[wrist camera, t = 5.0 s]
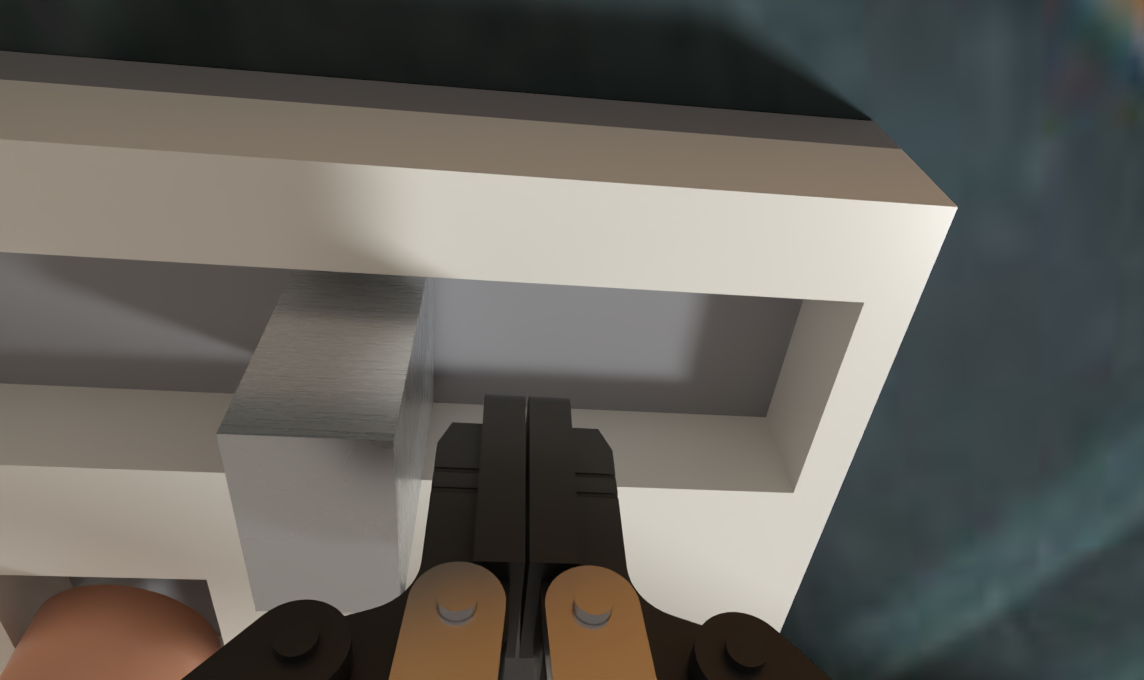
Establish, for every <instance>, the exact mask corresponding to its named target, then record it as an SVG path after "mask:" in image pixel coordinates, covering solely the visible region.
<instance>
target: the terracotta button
mask: <svg viewBox="0 0 1144 680" xmlns="http://www.w3.org/2000/svg"><path fill="white" fill-rule="evenodd" d="M220 648H221V646H220V640H219V638H218V635H217V633H216V632H215V630H214V628H213V627H212V626H211V625H210V623H209V622H208V621H207V620H206V619H205V618H204V617H203V616H201V615H200V614H199V613H198V612H196V611H195V610H193V609H192V608H190V607H189V606H187V605H185V604H183V603H182V602H179V601H177V600H175V599H173V598H171V597H168V596H165V595H163V594H160V593H157V592H153V591H150V590H146V589H141V588H137V587H131V586H123V585H109V584H106V585H88V586H81V587H76V588H72V589H68V590H65V591H62V592H60V593H58V594H56V595H54V596H52V597H51V598H49V599H48V600H46V601H45V602H44V603H43V604H42V605H41V606H40V608H39V609H38V611H37V612H36V614H35V616H34V618H33V619H32V621H31V623H30V624H29V626H28V628H27V630H26V631H25V633H24V635H23V636H22V638H21V640H20V642H19V643H18V645H17V647H16V649H15V650H14V652H13V654H12V655H11V657H10V659H9V661H8V662H7V664H6V666H5V667H4V669H3V671H2V673H1V674H0V680H181V679H182V678H183V677H185V676H186V675H187V674H189V673H190V672H191V671H192V670H194V669H195V668H196V667H197V666H199V665H200V664H201V663H202V662H204V661H205V660H206V659H208V658H209V657H210V656H211V655H213V654H214V653H215V652H216V651H218V650H219V649H220Z"/></svg>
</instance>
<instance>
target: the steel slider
mask: <svg viewBox="0 0 1144 680" xmlns="http://www.w3.org/2000/svg"><path fill="white" fill-rule="evenodd" d="M433 401H434V385H433V277H419V276H402V275H385V274H368V273H351V272H334V271H317V270H300V269H293V271H292V273H291V275H290V277H289V279H288V281H287V283H286V286H285V288H284V290H283V292H282V294H281V296H280V298H279V301H278V303H277V305H276V307H275V309H274V311H273V313H272V316H271V318H270V320H269V322H268V324H267V326H266V328H265V331H264V333H263V335H262V337H261V339H260V341H259V343H258V345H257V348H256V350H255V352H254V354H253V356H252V358H251V360H250V363H249V365H248V367H247V369H246V371H245V373H244V375H243V378H242V380H241V382H240V384H239V386H238V388H237V390H236V393H235V395H234V397H233V399H232V401H231V403H230V405H229V408H228V410H227V412H226V414H225V416H224V418H223V420H222V423H221V425H220V427H219V429H218V431H217V433H216V436H217V440H218V444H219V449H220V453H221V458H222V462H223V467H224V471H225V476H226V480H227V485H228V489H229V494H230V498H231V503H232V507H233V512H234V516H235V521H236V525H237V530H238V534H239V539H240V543H241V548H242V552H243V557H244V561H245V566H246V570H247V574H248V579H249V583H250V588H251V592H252V597H253V601H254V606H255V610H256V611H269V610H271V609H273V608H275V607H277V606H279V605H281V604H284V603H287V602H291V601H295V600H305V599H309V600H318V601H322V602H325V603H328V604H330V605H332V606H334V607H335V608H337V609H338V610H339V611H340V612H341V613H357V612H361V611H365V610H369V609H372V608H376V607H378V606H381V605H384V604H386V603H388V602H390V601H392V600H394V599H395V598H397V597H398V596H400V595H401V594H402V593H403V592H404V591H405V588H406V581H407V574H408V568H409V561H410V554H411V548H412V541H413V534H414V528H415V521H416V514H417V508H418V501H419V494H420V488H421V481H422V474H423V468H424V461H425V454H426V448H427V441H428V434H429V428H430V421H431V414H432V408H433Z"/></svg>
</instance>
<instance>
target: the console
mask: <svg viewBox="0 0 1144 680" xmlns="http://www.w3.org/2000/svg"><path fill="white" fill-rule="evenodd" d="M957 208H958V207H957V206H956V205H955V204H954V203H953V202H952V201H951V200H950V199H949V198H948V197H947V196H946V195H945V193H944V192H943V191H942V190H941V189H940V188H939V187H938V186H937V185H936V184H935V183H934V182H933V181H932V180H931V179H930V178H929V177H928V176H927V175H926V174H925V173H924V172H923V171H922V170H921V169H920V168H919V167H918V166H917V165H916V164H915V163H914V162H913V160H912V159H911V158H910V157H909V156H908V155H907V154H906V153H905V152H904V151H903V150H902V149H901V148H900V147H899V146H898V145H897V144H896V143H895V142H894V141H893V140H892V139H891V138H890V137H889V136H888V135H887V134H886V133H885V132H884V131H883V130H882V129H881V128H880V126H879V125H878V124H877V123H876V122H875V121H866V120H853V119H841V118H828V117H816V116H804V115H791V114H779V113H766V112H754V111H742V110H729V109H717V108H704V107H692V106H680V105H667V104H655V103H642V102H630V101H618V100H605V99H593V98H580V97H568V96H556V95H543V94H531V93H518V92H506V91H494V90H481V89H469V88H456V87H444V86H432V85H419V84H407V83H394V82H382V81H370V80H357V79H345V78H332V77H320V76H308V75H295V74H283V73H270V72H258V71H246V70H233V69H221V68H208V67H196V66H184V65H171V64H159V63H146V62H134V61H121V60H109V59H97V58H84V57H72V56H59V55H47V54H35V53H22V52H10V51H0V674H1V673H2V671H3V669H4V667H5V666H6V664H7V662H8V661H9V659H10V657H11V655H12V654H13V652H14V650H15V649H16V647H17V645H18V643H19V642H20V640H21V638H22V636H23V635H24V633H25V631H26V630H27V628H28V626H29V624H30V623H31V621H32V619H33V618H34V616H35V614H36V612H37V611H38V609H39V608H40V606H41V605H42V604H43V603H44V602H45V601H46V600H48V599H49V598H51V597H52V596H54V595H56V594H58V593H60V592H62V591H65V590H68V589H72V588H76V587H81V586H88V585H106V584H109V585H123V586H131V587H137V588H141V589H146V590H150V591H153V592H157V593H160V594H163V595H165V596H168V597H171V598H173V599H175V600H177V601H179V602H182V603H183V604H185V605H187V606H189V607H190V608H192V609H193V610H195V611H196V612H198V613H199V614H200V615H201V616H203V617H204V618H205V619H206V620H207V621H208V622H209V623H210V625H211V626H212V627H213V628H214V630H215V632H216V633H217V635H218V638H219V640H220V646H221V648H222V647H223V646H224V645H225V644H227V643H228V642H229V641H230V640H232V639H233V638H234V637H235V636H237V635H238V634H239V633H241V632H242V631H243V630H244V629H246V628H247V627H248V626H249V625H251V624H252V623H253V622H254V621H256V620H257V619H258V618H260V617H261V616H262V615H263V614H265V613H266V612H268V611H256V610H255V606H254V601H253V597H252V592H251V588H250V583H249V579H248V574H247V570H246V566H245V561H244V557H243V552H242V548H241V543H240V539H239V534H238V530H237V525H236V521H235V516H234V512H233V507H232V503H231V498H230V494H229V489H228V485H227V480H226V476H225V471H224V467H223V462H222V458H221V453H220V449H219V444H218V440H217V436H216V433H217V431H218V429H219V427H220V425H221V423H222V420H223V418H224V416H225V414H226V412H227V410H228V408H229V405H230V403H231V401H232V399H233V397H234V395H235V393H236V390H237V388H238V386H239V384H240V382H241V380H242V378H243V375H244V373H245V371H246V369H247V367H248V365H249V363H250V360H251V358H252V356H253V354H254V352H255V350H256V348H257V345H258V343H259V341H260V339H261V337H262V335H263V333H264V331H265V328H266V326H267V324H268V322H269V320H270V318H271V316H272V313H273V311H274V309H275V307H276V305H277V303H278V301H279V298H280V296H281V294H282V292H283V290H284V288H285V286H286V283H287V281H288V279H289V277H290V275H291V273H292V271H293V269H300V270H317V271H334V272H351V273H368V274H385V275H402V276H419V277H433V385H434V401H433V408H432V414H431V421H430V428H429V434H428V441H427V448H426V454H425V461H424V468H423V474H422V481H421V488H420V494H419V501H418V508H417V514H416V521H415V528H414V534H413V541H412V548H411V554H410V561H409V568H408V574H407V581H406V588H405V590H407V588H408V587H409V586H410V585H411V584H412V583H413V581H414V579H415V578H416V576H417V574H418V572H419V569H420V565H421V560H422V553H423V545H424V538H425V531H426V523H427V516H428V508H429V501H430V493H431V486H432V478H433V471H434V463H435V456H436V448H437V442H438V441H439V440H440V438H441V437H442V436H443V434H444V433H445V432H446V430H447V429H448V427H449V426H450V425H451V423H452V422H457V423H479V424H483V410H484V396H485V394H492V395H512V396H525V397H526V415H527V405H528V397H529V396H535V397H555V398H569V399H570V404H571V418H572V428H589V429H599V431H600V432H601V434H602V435H603V437H604V438H605V440H606V441H607V443H608V444H609V446H610V447H611V449H612V450H613V458H614V467H615V479H616V483H617V491H618V499H619V507H620V515H621V524H622V532H623V540H624V548H625V556H626V564H627V570H628V575H629V577H630V580H631V582H632V584H633V586H634V587H635V589H636V590H637V591H638V593H639V594H640V595H641V596H642V597H643V598H644V599H645V600H646V601H647V602H648V603H650V604H651V605H653V606H654V607H655V608H657V609H659V610H661V611H663V612H665V613H668V614H670V615H673V616H676V617H679V618H682V619H685V620H688V621H691V622H694V623H697V624H700V625H703V624H704V623H705V622H706V621H707V620H708V619H709V618H711V617H713V616H715V615H718V614H720V613H725V612H740V613H745V614H749V615H752V616H755V617H757V618H759V619H761V620H763V621H765V622H766V623H768V624H769V625H770V626H772V627H773V628H774V629H775V630H777V631H778V632H779V633H780V631H781V629H782V626H783V624H784V621H785V619H786V617H787V614H788V612H789V609H790V607H791V605H792V602H793V600H794V597H795V595H796V593H797V590H798V588H799V586H800V583H801V581H802V578H803V576H804V574H805V571H806V569H807V566H808V564H809V562H810V559H811V557H812V554H813V552H814V550H815V547H816V545H817V542H818V540H819V538H820V535H821V533H822V531H823V528H824V526H825V523H826V521H827V519H828V516H829V514H830V511H831V509H832V507H833V504H834V502H835V499H836V497H837V495H838V492H839V490H840V488H841V485H842V483H843V480H844V478H845V476H846V473H847V471H848V468H849V466H850V464H851V461H852V459H853V456H854V454H855V452H856V449H857V447H858V444H859V442H860V440H861V437H862V435H863V433H864V430H865V428H866V425H867V423H868V421H869V418H870V416H871V413H872V411H873V409H874V406H875V404H876V401H877V399H878V397H879V394H880V392H881V389H882V387H883V385H884V382H885V380H886V378H887V375H888V373H889V370H890V368H891V366H892V363H893V361H894V358H895V356H896V354H897V351H898V349H899V346H900V344H901V342H902V339H903V337H904V334H905V332H906V330H907V327H908V325H909V323H910V320H911V318H912V315H913V313H914V311H915V308H916V306H917V303H918V301H919V299H920V296H921V294H922V291H923V289H924V287H925V284H926V282H927V279H928V277H929V275H930V272H931V270H932V268H933V265H934V263H935V260H936V258H937V256H938V253H939V251H940V248H941V246H942V244H943V241H944V239H945V236H946V234H947V232H948V229H949V227H950V224H951V222H952V220H953V217H954V215H955V213H956V210H957ZM342 614H343V615H344V616H346V615H350V614H354V613H342Z"/></svg>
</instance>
